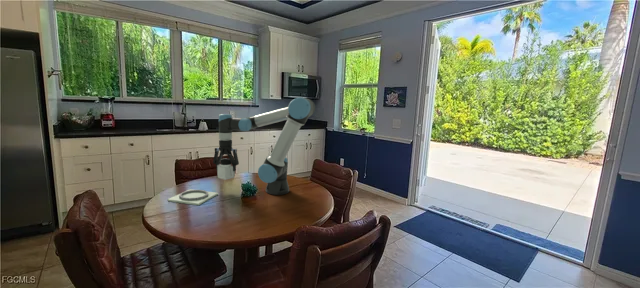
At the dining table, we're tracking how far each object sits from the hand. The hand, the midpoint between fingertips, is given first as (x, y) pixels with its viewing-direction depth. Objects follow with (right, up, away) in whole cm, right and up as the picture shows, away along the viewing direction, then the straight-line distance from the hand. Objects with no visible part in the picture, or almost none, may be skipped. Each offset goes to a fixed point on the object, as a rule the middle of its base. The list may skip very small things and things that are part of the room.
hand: (226, 175), depth 168 cm
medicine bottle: (0, -2, 0) cm, 2 cm away
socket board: (-15, -12, -11) cm, 22 cm away
